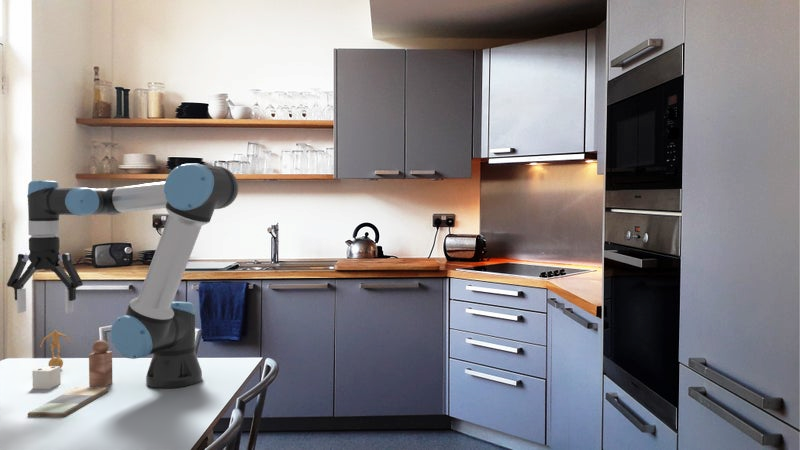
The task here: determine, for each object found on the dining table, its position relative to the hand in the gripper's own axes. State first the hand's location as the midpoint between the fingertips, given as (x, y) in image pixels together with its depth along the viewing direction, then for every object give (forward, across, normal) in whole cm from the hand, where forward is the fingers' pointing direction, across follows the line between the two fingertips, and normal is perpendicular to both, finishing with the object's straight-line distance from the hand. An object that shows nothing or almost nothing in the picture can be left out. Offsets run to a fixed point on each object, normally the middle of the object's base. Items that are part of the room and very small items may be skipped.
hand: (45, 312), depth 181 cm
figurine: (+21, +8, -18) cm, 29 cm away
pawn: (+21, -14, -2) cm, 25 cm away
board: (+21, -16, +16) cm, 30 cm away
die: (+21, 0, 0) cm, 21 cm away
